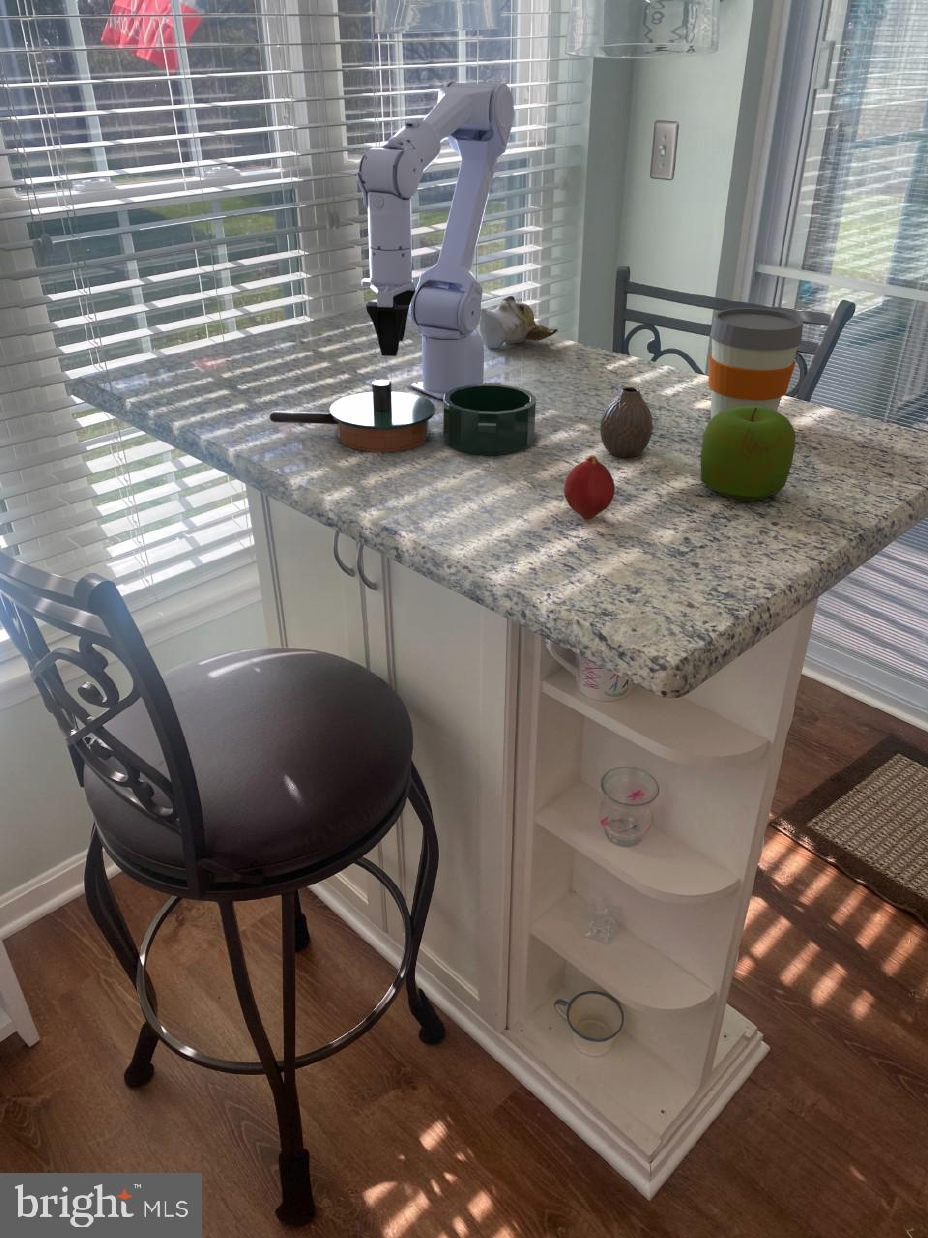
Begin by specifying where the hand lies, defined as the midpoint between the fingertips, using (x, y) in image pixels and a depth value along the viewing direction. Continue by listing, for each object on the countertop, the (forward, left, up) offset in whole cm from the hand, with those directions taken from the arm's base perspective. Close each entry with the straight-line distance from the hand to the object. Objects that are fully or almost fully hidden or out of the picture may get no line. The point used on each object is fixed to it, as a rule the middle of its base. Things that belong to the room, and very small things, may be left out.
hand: (392, 347), depth 140 cm
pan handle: (+13, -2, -9) cm, 16 cm away
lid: (+5, +5, -7) cm, 10 cm away
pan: (+5, +5, -10) cm, 13 cm away
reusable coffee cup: (-40, +32, -11) cm, 52 cm away
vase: (-17, +30, -11) cm, 36 cm away
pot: (-6, +15, -10) cm, 19 cm away
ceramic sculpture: (-40, -20, -11) cm, 46 cm away
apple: (-19, +48, -11) cm, 53 cm away
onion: (+2, +42, -11) cm, 43 cm away
